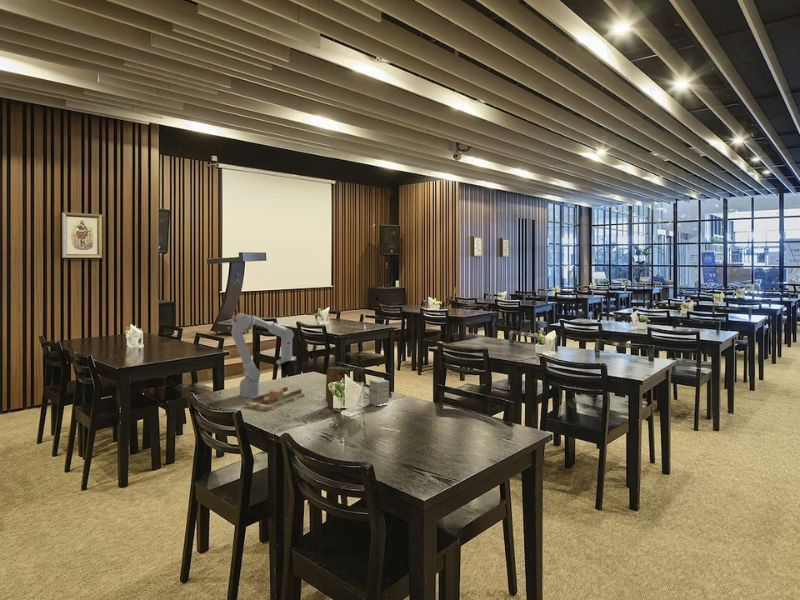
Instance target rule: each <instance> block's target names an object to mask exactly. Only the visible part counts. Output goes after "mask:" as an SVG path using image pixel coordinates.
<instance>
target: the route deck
mask: <svg viewBox="0 0 800 600" xmlns="http://www.w3.org/2000/svg"><path fill="white" fill-rule="evenodd" d="M280 390H284V395H282V396H279V397H276V398H273V399H269V392H268V393H264V394H262V395H261V396H258V397H255V398H252V400H250V401H247V402H245V404H244V406H246V407H245V408H248V407H251V408H250V409H253V408H256V409H255V410H259V409H261V410H260V411H264V410H266V411H265V412H269V410H270V411H272V409H273V410H276V409H278V408H280V406H281V407H284V406H286V405H287V404H291V403H293V401H294V402H297V401H298V399H299V400H301V399H300V398H302V399H304V398H305V393H302V389H297V390H295V391H290V390H289V389H288V387H287V386H285V387H283V388H280ZM303 397H304V398H303ZM285 404H286V405H285ZM277 407H278V408H277Z"/></svg>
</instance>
